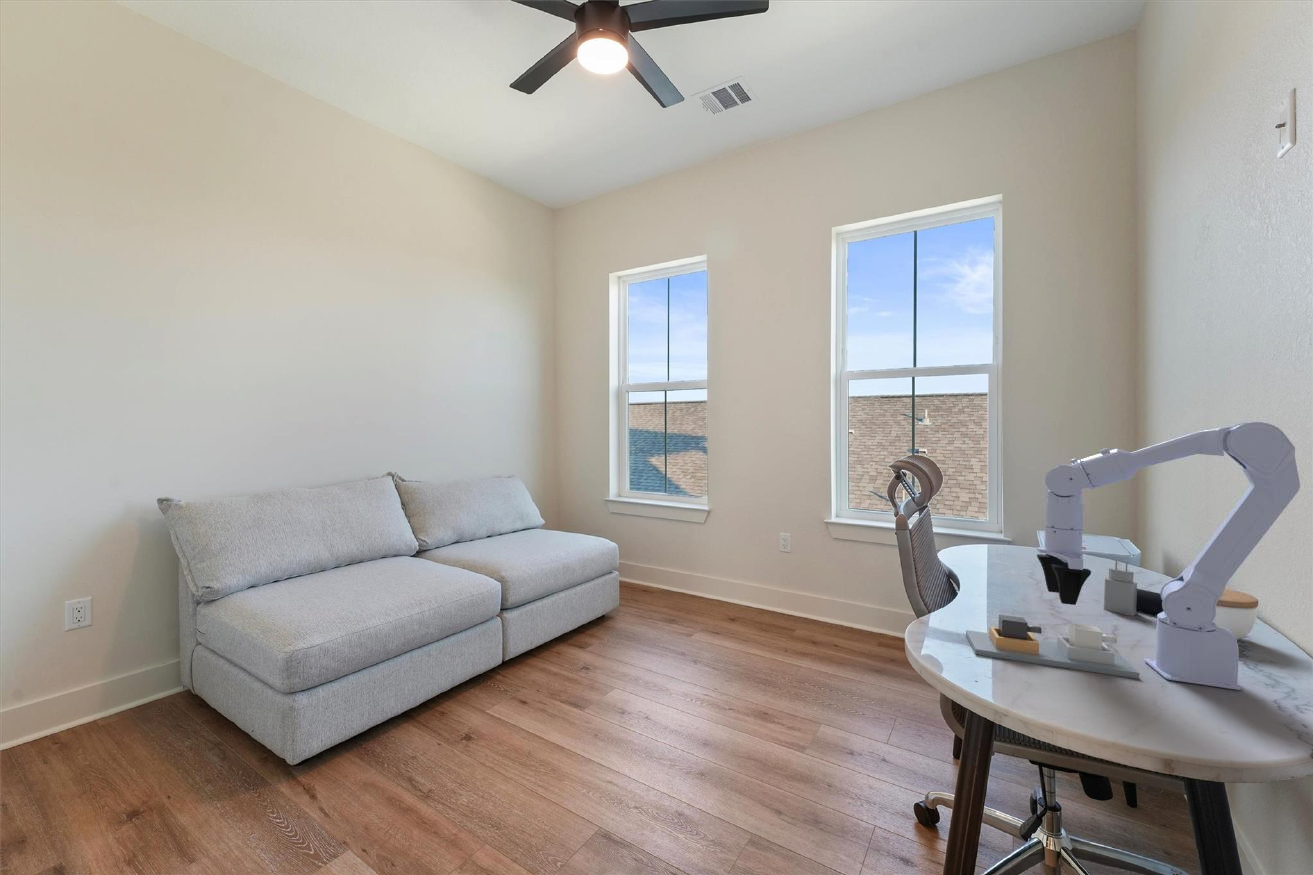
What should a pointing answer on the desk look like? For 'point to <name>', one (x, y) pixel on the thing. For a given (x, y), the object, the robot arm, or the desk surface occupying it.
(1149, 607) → the pipe connector
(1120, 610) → the power adapter
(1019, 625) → the dark gray plug
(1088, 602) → the desk surface
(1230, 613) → the white lidded bowl
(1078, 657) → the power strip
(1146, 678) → the desk surface
